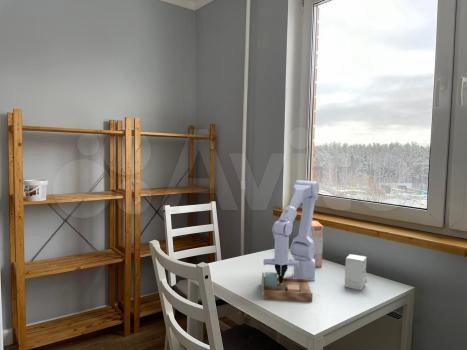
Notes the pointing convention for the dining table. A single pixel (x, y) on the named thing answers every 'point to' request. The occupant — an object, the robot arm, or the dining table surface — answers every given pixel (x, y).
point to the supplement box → (355, 271)
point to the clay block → (293, 288)
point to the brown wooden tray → (281, 290)
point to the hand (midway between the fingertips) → (280, 282)
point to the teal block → (270, 279)
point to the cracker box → (317, 242)
